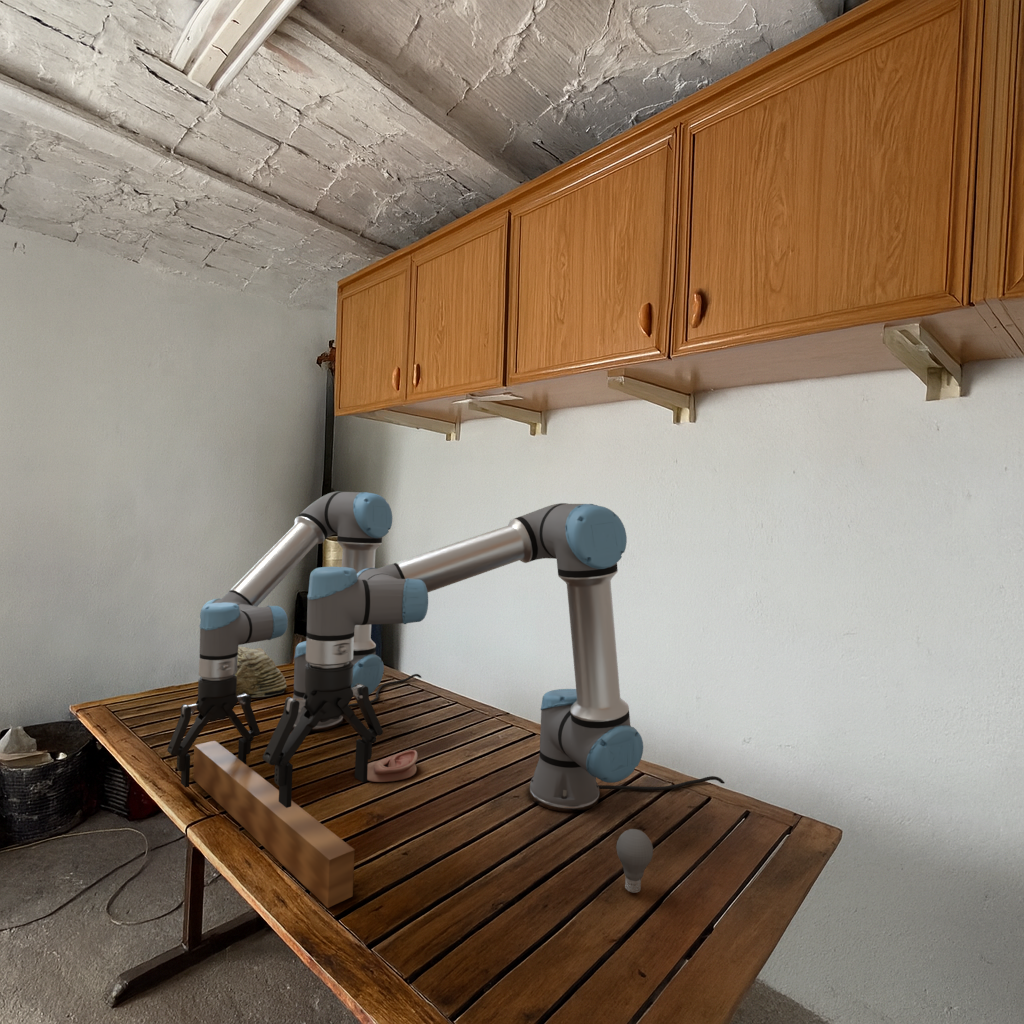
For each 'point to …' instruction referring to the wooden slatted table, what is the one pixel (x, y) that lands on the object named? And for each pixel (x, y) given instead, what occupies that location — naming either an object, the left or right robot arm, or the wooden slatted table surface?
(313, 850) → the beam
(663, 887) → the wooden slatted table surface
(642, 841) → the light bulb
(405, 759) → the anatomical model
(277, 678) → the fossil
